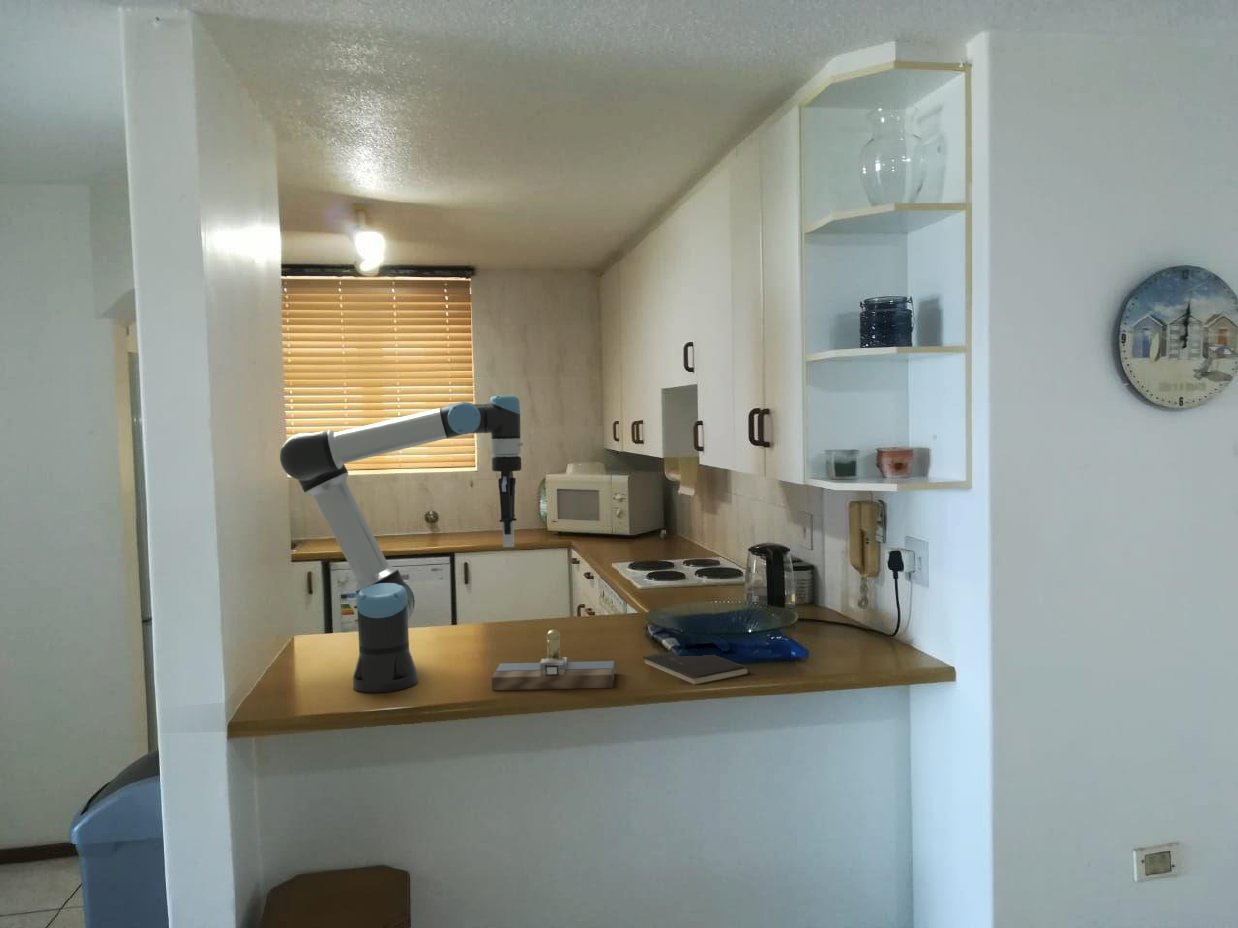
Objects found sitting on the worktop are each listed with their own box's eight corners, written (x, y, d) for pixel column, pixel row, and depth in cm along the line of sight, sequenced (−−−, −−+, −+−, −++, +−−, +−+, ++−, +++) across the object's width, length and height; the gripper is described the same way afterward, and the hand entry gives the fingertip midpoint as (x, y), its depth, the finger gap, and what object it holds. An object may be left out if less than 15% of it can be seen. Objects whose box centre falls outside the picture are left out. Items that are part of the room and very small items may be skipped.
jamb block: (492, 690, 205) (491, 664, 205) (495, 683, 210) (494, 658, 210) (612, 687, 204) (611, 661, 204) (613, 681, 209) (612, 656, 209)
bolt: (545, 674, 205) (543, 635, 204) (548, 666, 212) (547, 628, 212) (558, 674, 205) (557, 634, 204) (561, 665, 212) (560, 627, 211)
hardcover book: (693, 687, 204) (693, 677, 204) (643, 665, 225) (642, 656, 224) (749, 675, 212) (748, 666, 212) (695, 655, 232) (695, 647, 232)
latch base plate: (496, 683, 210) (495, 665, 210) (500, 675, 217) (499, 658, 217) (613, 680, 210) (612, 663, 209) (614, 672, 216) (613, 656, 216)
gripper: (517, 456, 221) (519, 549, 222) (524, 454, 234) (526, 543, 235) (487, 456, 221) (490, 550, 222) (495, 455, 235) (498, 543, 235)
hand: (508, 546), depth 229 cm, fingers closed
